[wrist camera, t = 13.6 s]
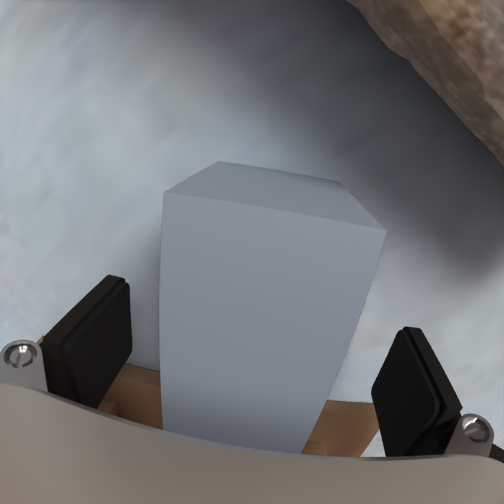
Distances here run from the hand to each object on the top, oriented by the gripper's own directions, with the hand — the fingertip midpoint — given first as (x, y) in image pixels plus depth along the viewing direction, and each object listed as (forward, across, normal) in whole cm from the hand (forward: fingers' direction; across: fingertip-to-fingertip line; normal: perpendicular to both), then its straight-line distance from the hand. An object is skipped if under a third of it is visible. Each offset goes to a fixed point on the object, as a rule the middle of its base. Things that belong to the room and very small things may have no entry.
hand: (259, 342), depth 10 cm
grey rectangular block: (+3, 0, 0) cm, 3 cm away
